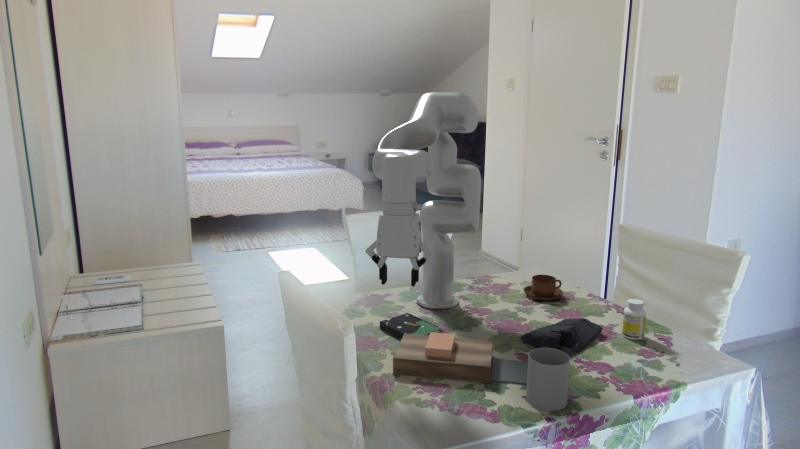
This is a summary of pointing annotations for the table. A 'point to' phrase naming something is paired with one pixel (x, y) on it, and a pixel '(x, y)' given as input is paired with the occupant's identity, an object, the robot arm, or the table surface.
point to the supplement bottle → (634, 320)
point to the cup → (547, 379)
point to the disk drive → (408, 326)
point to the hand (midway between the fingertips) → (399, 283)
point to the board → (444, 359)
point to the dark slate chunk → (563, 335)
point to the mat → (509, 371)
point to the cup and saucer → (544, 288)
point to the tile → (440, 345)
